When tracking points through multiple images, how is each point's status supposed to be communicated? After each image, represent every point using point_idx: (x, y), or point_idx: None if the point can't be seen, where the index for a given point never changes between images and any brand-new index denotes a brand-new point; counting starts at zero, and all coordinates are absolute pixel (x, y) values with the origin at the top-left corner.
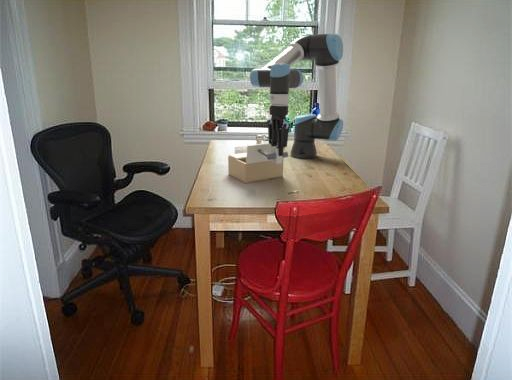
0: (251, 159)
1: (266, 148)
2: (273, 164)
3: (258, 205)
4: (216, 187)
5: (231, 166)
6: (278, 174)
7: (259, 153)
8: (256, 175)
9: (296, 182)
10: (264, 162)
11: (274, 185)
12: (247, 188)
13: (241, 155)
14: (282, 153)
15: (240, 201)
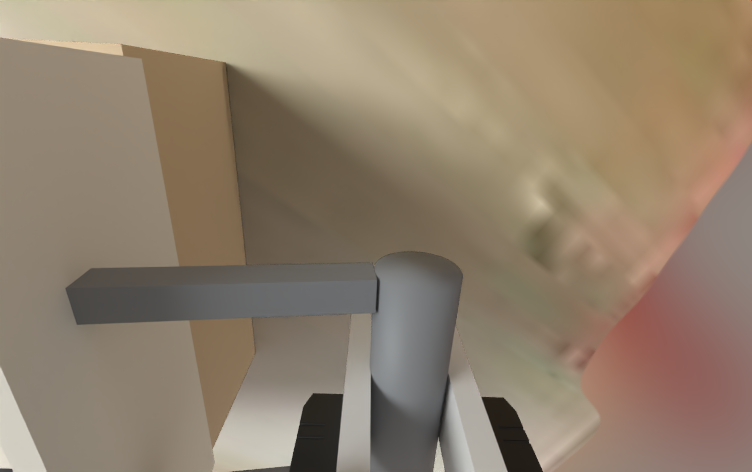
0: (197, 465)
1: (113, 431)
2: (181, 189)
3: (554, 442)
4: (250, 469)
5: None
6: (219, 112)
7: (163, 453)
8: None
9: (401, 60)
10: None
11: (370, 240)
12: (336, 379)
13: None
14: (522, 434)
15: None
